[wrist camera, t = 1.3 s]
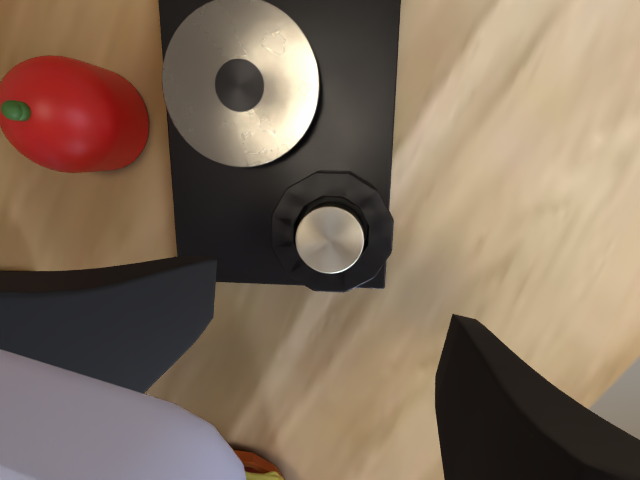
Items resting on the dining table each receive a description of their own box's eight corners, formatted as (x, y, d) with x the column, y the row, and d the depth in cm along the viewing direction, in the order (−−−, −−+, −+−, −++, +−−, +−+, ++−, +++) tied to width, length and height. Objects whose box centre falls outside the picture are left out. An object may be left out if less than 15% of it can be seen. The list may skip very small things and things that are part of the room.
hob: (183, 277, 23) (162, 292, 21) (161, -23, 19) (133, -49, 17) (384, 285, 22) (388, 302, 20) (402, -28, 18) (410, -56, 16)
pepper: (63, 169, 22) (-45, 175, 16) (49, 69, 21) (-73, 36, 15) (153, 171, 22) (77, 178, 16) (144, 68, 21) (58, 34, 14)
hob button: (300, 261, 20) (295, 272, 18) (300, 200, 19) (295, 205, 18) (361, 264, 20) (362, 274, 18) (364, 202, 19) (365, 207, 17)
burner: (170, 165, 20) (167, 166, 19) (158, -1, 18) (155, -3, 18) (318, 168, 19) (318, 168, 19) (321, -4, 17) (320, -6, 17)
